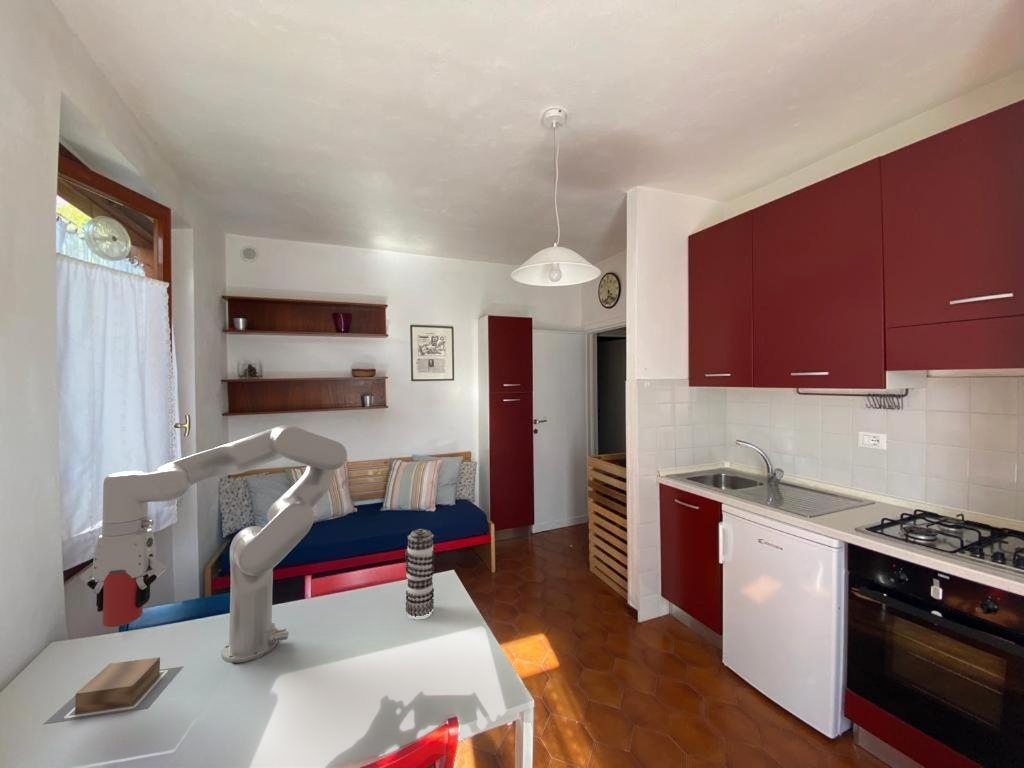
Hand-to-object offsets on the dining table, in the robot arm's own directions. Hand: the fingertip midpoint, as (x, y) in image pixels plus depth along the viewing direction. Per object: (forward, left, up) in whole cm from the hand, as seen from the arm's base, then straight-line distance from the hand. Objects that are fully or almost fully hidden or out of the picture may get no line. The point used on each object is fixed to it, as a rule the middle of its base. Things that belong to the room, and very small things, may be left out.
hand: (123, 605), depth 93 cm
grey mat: (0, 0, -19) cm, 19 cm away
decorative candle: (-66, -20, -20) cm, 72 cm away
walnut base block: (0, 0, -19) cm, 19 cm away
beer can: (0, 0, -3) cm, 3 cm away
